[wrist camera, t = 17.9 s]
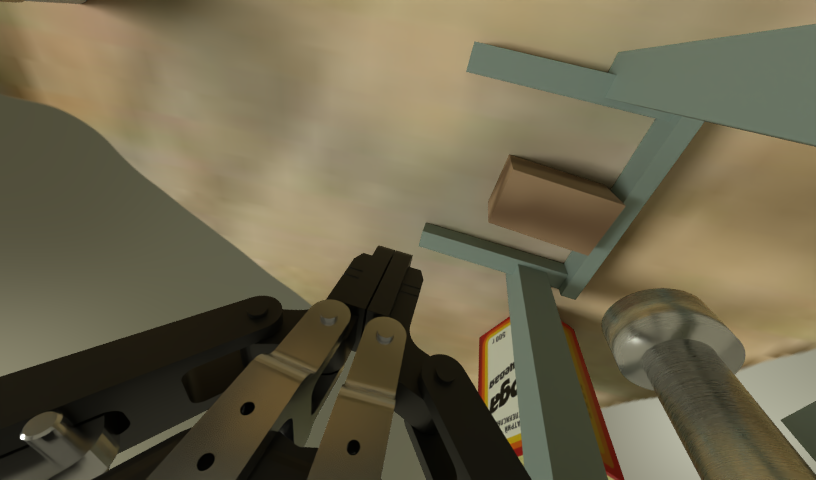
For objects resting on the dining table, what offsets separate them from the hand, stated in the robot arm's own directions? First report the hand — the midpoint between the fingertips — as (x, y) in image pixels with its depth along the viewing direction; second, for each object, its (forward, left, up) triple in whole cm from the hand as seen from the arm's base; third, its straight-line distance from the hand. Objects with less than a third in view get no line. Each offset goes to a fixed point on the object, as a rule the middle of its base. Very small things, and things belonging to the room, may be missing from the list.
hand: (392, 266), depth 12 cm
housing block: (+1, +10, -19) cm, 22 cm away
